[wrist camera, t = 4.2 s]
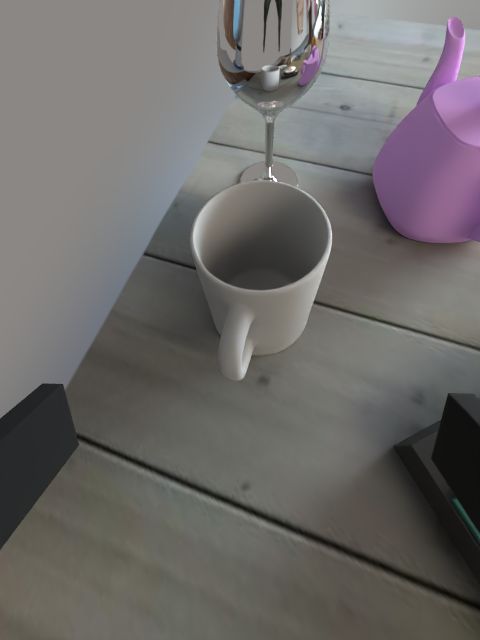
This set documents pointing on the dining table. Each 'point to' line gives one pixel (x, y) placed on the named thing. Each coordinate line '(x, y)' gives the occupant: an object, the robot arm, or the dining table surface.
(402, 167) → the teapot
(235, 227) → the mug
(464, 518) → the scale
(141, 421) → the dining table surface
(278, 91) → the wineglass
